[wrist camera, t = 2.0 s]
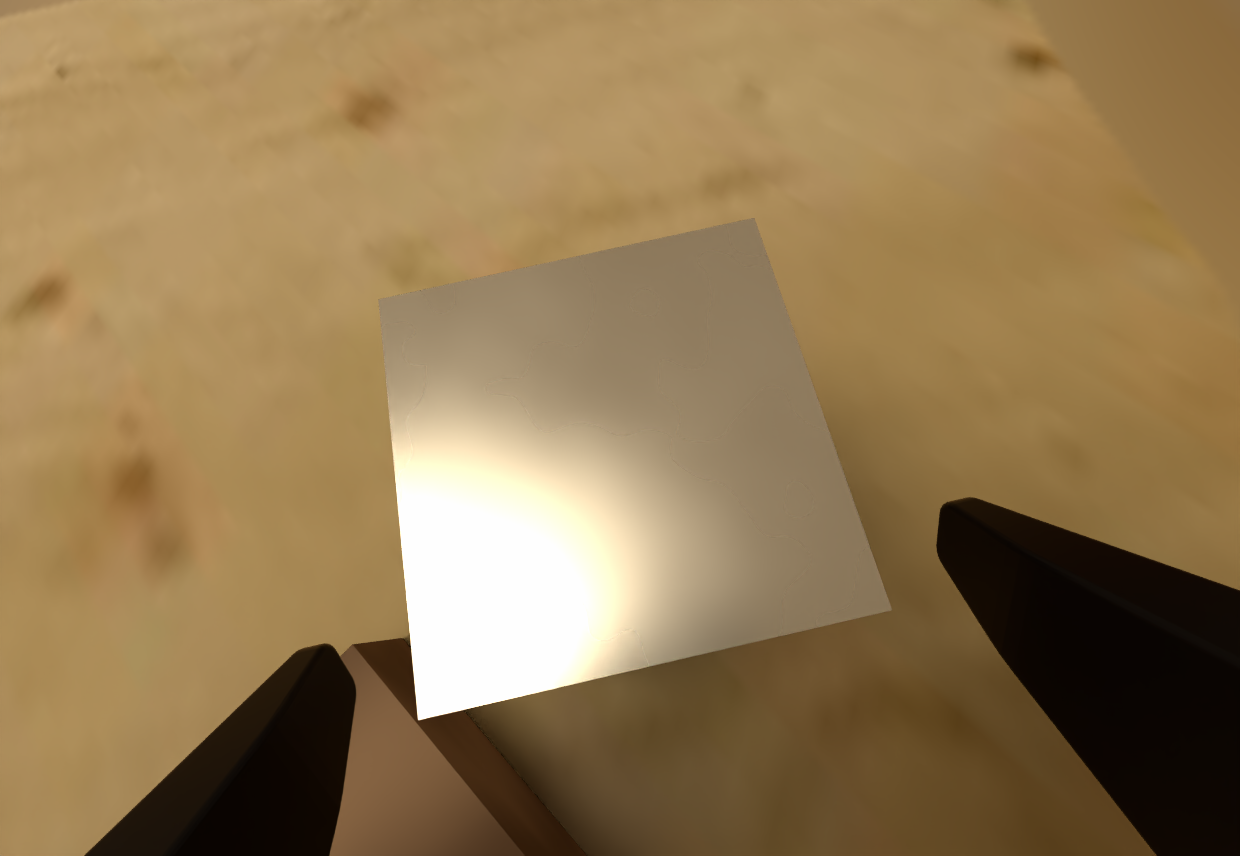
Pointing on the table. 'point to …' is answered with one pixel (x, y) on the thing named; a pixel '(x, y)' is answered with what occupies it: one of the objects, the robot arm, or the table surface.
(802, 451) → the block
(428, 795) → the stand
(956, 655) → the table surface
